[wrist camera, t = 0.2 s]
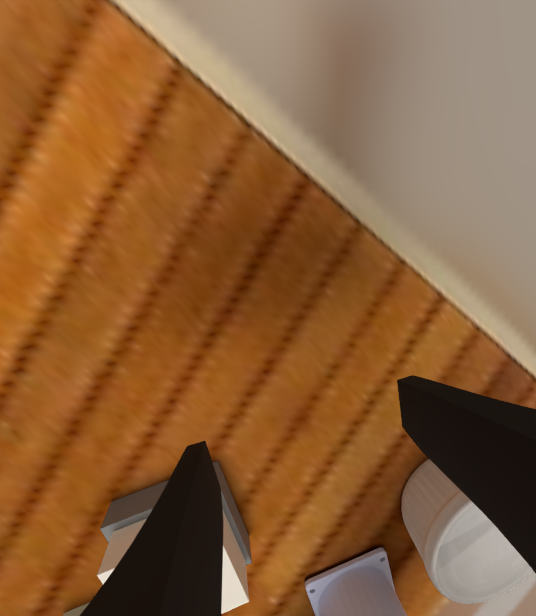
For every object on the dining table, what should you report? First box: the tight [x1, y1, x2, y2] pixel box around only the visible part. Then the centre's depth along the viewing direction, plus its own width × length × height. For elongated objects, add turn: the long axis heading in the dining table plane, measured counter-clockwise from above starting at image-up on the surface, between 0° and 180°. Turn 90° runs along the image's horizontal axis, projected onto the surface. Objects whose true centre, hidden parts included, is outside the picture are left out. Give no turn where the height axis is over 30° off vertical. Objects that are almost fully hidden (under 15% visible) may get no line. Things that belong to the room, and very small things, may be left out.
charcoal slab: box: [100, 461, 252, 565], centre depth 21 cm, size 8×8×2 cm
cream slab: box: [97, 511, 249, 614], centre depth 18 cm, size 7×7×2 cm
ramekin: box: [401, 459, 533, 604], centre depth 23 cm, size 11×11×5 cm
